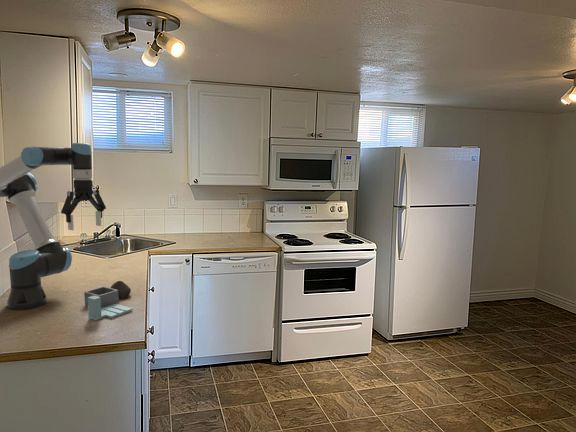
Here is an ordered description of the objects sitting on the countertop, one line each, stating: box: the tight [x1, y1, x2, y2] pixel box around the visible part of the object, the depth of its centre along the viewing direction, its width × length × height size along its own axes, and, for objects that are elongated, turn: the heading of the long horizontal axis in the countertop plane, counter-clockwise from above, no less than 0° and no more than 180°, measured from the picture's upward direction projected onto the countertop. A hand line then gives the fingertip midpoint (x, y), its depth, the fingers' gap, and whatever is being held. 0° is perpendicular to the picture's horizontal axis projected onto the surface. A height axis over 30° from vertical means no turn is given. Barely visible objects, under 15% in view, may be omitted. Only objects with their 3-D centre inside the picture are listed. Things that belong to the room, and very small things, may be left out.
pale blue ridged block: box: [87, 296, 134, 321], centre depth 188 cm, size 11×16×9 cm
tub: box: [84, 286, 120, 308], centre depth 200 cm, size 10×10×6 cm
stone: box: [110, 280, 132, 300], centre depth 211 cm, size 10×8×10 cm
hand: (85, 227), depth 195 cm, fingers open, 13 cm apart
